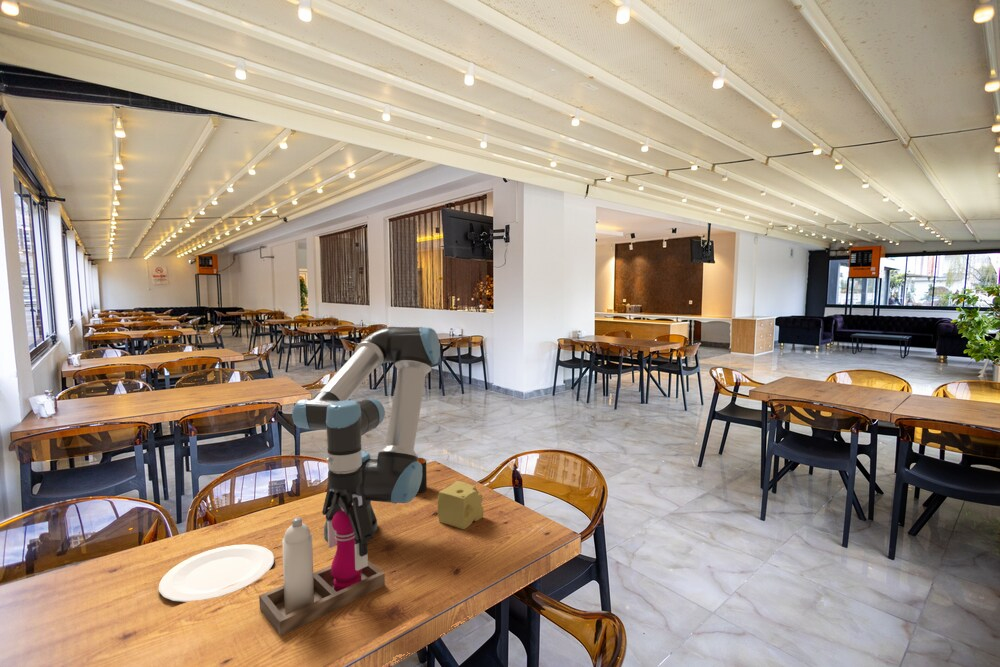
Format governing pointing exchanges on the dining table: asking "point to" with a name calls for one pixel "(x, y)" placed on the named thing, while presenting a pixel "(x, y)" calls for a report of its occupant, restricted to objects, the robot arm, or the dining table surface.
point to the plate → (216, 573)
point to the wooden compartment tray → (318, 598)
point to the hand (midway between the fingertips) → (347, 556)
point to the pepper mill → (344, 553)
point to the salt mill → (297, 566)
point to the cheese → (460, 505)
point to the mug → (423, 476)
